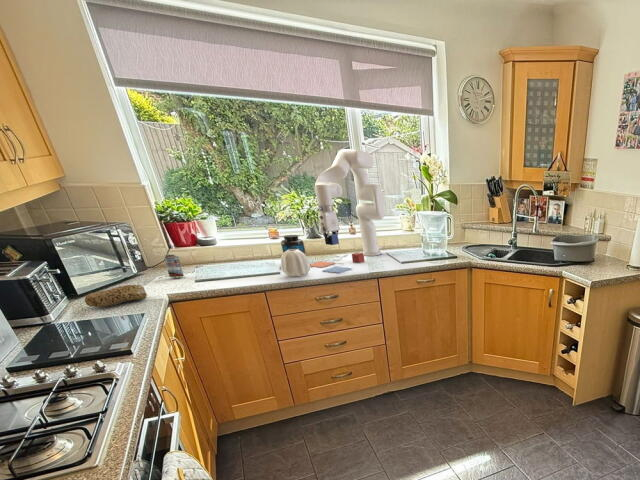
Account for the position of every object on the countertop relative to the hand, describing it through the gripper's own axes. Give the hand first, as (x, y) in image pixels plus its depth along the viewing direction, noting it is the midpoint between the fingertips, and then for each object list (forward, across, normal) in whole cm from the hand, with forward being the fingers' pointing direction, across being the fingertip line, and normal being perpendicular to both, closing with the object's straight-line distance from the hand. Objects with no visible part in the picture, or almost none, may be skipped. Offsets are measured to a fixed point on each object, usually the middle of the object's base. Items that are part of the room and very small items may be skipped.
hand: (332, 243), depth 231 cm
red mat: (+15, +5, +16) cm, 22 cm away
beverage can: (+15, -47, +63) cm, 80 cm away
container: (+15, +1, +30) cm, 33 cm away
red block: (+15, +21, +1) cm, 26 cm away
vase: (+15, -19, +11) cm, 26 cm away
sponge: (+15, -86, +44) cm, 98 cm away
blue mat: (+15, -2, -1) cm, 15 cm away
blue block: (0, 0, 0) cm, 0 cm away
